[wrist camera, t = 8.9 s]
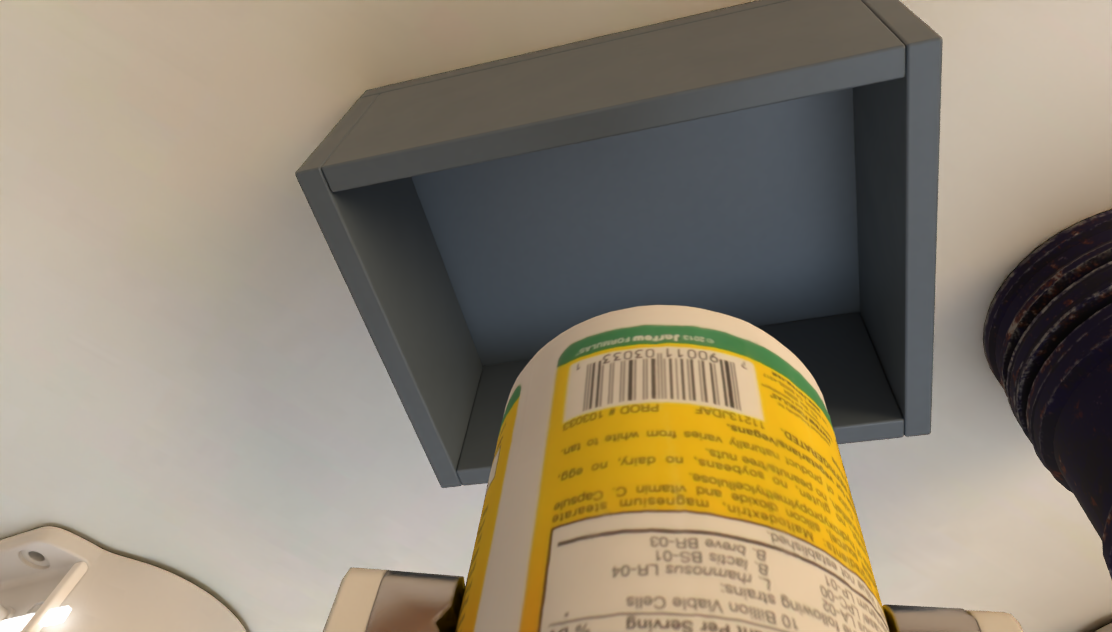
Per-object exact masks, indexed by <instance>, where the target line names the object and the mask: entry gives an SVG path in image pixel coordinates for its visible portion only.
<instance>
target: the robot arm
mask: <svg viewBox="0 0 1112 632" xmlns="http://www.w3.org/2000/svg"><path fill="white" fill-rule="evenodd" d="M464 592H465V583H464V577H463V576H450V575H438V574H426V573H413V572H401V571H390V570H381V569H366V568H350V569H349V571H348V572H347V574H346V575H345V576H344V578H343V579H342V582H341V584H340V587H339V590H338V592H337V595H336V598H335V600H334V603H333V606H332V608H331V611H330V614H329V617H328V619H327V622H326V625H325V627H324V630H323V632H455V631H456V626H457V621H458V617H459V612H460V608H461V604H462V600H463V596H464ZM882 607H883V611H884V614H885V618H886V621H887V625H888V628H889V632H1023V630H1022V628H1021V626H1020V624H1019V622H1018V621H1017V620H1016V619H1015V618H1014V617H1013V616H1012V615H1011V614H1008V613H1005V612H990V611H970V610H964V609H958V608H939V607H920V606H900V605H883V606H882ZM0 632H247V631H246V630H245V628H244V627H243V625H242V624H241V623H240V621H239V620H238V619H237V618H236V617H235V615H234V614H233V613H232V612H231V611H230V610H229V609H228V608H226V607H225V606H224V605H223V604H222V603H221V602H219V601H218V600H217V599H216V598H214V597H213V596H212V595H210V594H209V593H207V592H206V591H204V590H203V589H201V588H199V587H198V586H196V585H194V584H193V583H191V582H189V581H187V580H185V579H183V578H181V577H179V576H177V575H175V574H173V573H171V572H168V571H166V570H163V569H161V568H158V567H155V566H153V565H150V564H147V563H144V562H140V561H137V560H134V559H130V558H127V557H123V556H120V555H117V554H114V553H111V552H108V551H106V550H103V549H102V548H100V547H98V546H96V545H94V544H93V543H91V542H89V541H87V540H85V539H83V538H81V537H79V536H77V535H75V534H73V533H71V532H69V531H66V530H64V529H61V528H58V527H52V526H45V527H40V528H37V529H34V530H31V531H27V532H24V533H21V534H18V535H15V536H11V537H8V538H5V539H2V540H0Z"/></svg>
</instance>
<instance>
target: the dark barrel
mask: <svg viewBox="0 0 1112 632" xmlns="http://www.w3.org/2000/svg"><path fill="white" fill-rule="evenodd" d="M983 343H984V350H985V356H986V359H987V361H988V364H989V366H990V369H991V370H992V372H993V374H994V375H995V377H996V378H997V380H998V381H999V383H1000V384H1001V386H1002V387H1003V389H1004V390H1005V393H1006V396H1007V397H1008V401H1009V404H1010V406H1011V409H1012V412H1013V414H1014V416H1015V417H1016V419H1017V421H1018V423H1019V424H1020V426H1021V428H1022V429H1023V431H1024V433H1025V434H1026V436H1027V437H1028V439H1029V440H1030V441H1031V443H1032V444H1033V446H1034V449H1035V452H1036V454H1037V456H1038V457H1039V459H1040V460H1041V462H1042V463H1043V465H1044V466H1045V467H1046V468H1047V469H1048V470H1049V471H1050V472H1051V473H1052V475H1053V476H1054V478H1055V479H1056V480H1057V481H1058V482H1059V483H1061V484H1062V485H1063V486H1064V487H1065V488H1066V489H1067V490H1069V491H1071V492H1072V493H1074V495H1075V497H1076V498H1077V500H1078V502H1079V503H1080V505H1081V507H1082V508H1083V510H1084V512H1085V513H1086V515H1087V517H1088V518H1089V520H1090V521H1091V523H1092V525H1093V526H1094V528H1095V530H1096V531H1097V533H1098V535H1099V536H1100V538H1101V540H1102V544H1103V556H1104V559H1105V562H1106V565H1107V567H1108V570H1109V573H1110V576H1111V579H1112V210H1109V211H1106V212H1103V213H1101V214H1098V215H1096V216H1093V217H1091V218H1088V219H1085V220H1083V221H1081V222H1079V223H1077V224H1075V225H1073V226H1071V227H1070V228H1068V229H1066V230H1064V231H1062V232H1060V233H1059V234H1057V235H1056V236H1054V237H1053V238H1051V239H1050V240H1048V241H1047V242H1045V243H1044V244H1042V245H1041V246H1040V247H1038V248H1037V249H1036V250H1035V251H1034V252H1032V253H1031V254H1030V255H1029V256H1028V257H1027V258H1025V259H1024V260H1023V261H1022V262H1021V263H1020V264H1019V265H1018V267H1017V268H1016V269H1015V270H1014V271H1013V272H1012V273H1011V274H1010V275H1009V276H1008V278H1007V279H1006V281H1005V282H1004V283H1003V285H1002V286H1001V288H1000V289H999V291H998V292H997V294H996V296H995V298H994V300H993V302H992V304H991V306H990V308H989V311H988V314H987V318H986V321H985V325H984V336H983Z"/></svg>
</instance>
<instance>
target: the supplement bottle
mask: <svg viewBox="0 0 1112 632" xmlns="http://www.w3.org/2000/svg"><path fill="white" fill-rule="evenodd" d="M455 632H889V628H888V625H887V621H886V618H885V614H884V611H883V607H882V604H881V600H880V597H879V593H878V590H877V586H876V583H875V579H874V575H873V572H872V568H871V564H870V561H869V557H868V553H867V550H866V546H865V542H864V539H863V535H862V532H861V528H860V524H859V521H858V517H857V514H856V510H855V507H854V503H853V500H852V496H851V493H850V489H849V485H848V481H847V477H846V474H845V470H844V467H843V463H842V459H841V456H840V452H839V448H838V444H837V441H836V437H835V433H834V430H833V426H832V423H831V418H830V415H829V414H828V411H827V408H826V404H825V401H824V398H823V395H822V393H821V391H820V389H819V387H818V385H817V383H816V381H815V379H814V378H813V376H812V375H811V373H810V372H809V371H808V369H807V368H806V367H805V366H804V364H803V363H802V362H801V361H800V360H799V359H798V358H797V357H796V356H795V355H794V354H793V353H792V352H791V351H790V350H789V349H787V348H786V347H785V346H784V345H782V344H781V343H780V342H778V341H777V340H776V339H775V338H773V337H772V336H770V335H769V334H767V333H766V332H764V331H763V330H761V329H759V328H757V327H756V326H754V325H752V324H750V323H748V322H746V321H743V320H741V319H738V318H735V317H732V316H729V315H725V314H722V313H718V312H714V311H710V310H706V309H701V308H695V307H689V306H677V305H649V306H637V307H632V308H627V309H622V310H617V311H612V312H608V313H605V314H602V315H599V316H596V317H594V318H591V319H589V320H586V321H584V322H582V323H579V324H577V325H575V326H573V327H571V328H570V329H568V330H566V331H565V332H563V333H561V334H560V335H558V336H557V337H555V338H554V339H553V340H551V341H550V342H549V343H547V344H546V345H545V346H544V347H543V348H541V349H540V350H539V351H538V352H537V353H536V355H535V356H534V357H533V358H532V359H531V360H530V362H529V363H528V364H527V365H526V366H525V368H524V369H523V370H522V372H521V373H520V374H519V376H518V378H517V379H516V381H515V383H514V385H513V388H512V390H511V392H510V395H509V398H508V401H507V404H506V407H505V412H504V416H503V420H502V423H501V427H500V431H499V436H498V441H497V446H496V450H495V455H494V459H493V464H492V467H491V471H490V476H489V481H488V485H487V490H486V495H485V500H484V505H483V510H482V514H481V519H480V523H479V528H478V532H477V537H476V542H475V546H474V551H473V555H472V560H471V565H470V569H469V573H468V578H467V582H466V587H465V592H464V596H463V600H462V604H461V608H460V612H459V617H458V621H457V626H456V631H455Z"/></svg>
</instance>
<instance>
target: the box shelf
mask: <svg viewBox="0 0 1112 632" xmlns="http://www.w3.org/2000/svg"><path fill="white" fill-rule="evenodd" d="M941 73H942V37H941V36H939V35H938V34H937V33H936V32H935V31H934V30H933V29H931V28H930V27H929V26H928V25H927V24H926V23H924V22H923V21H922V20H921V19H920V18H919V17H918V16H916V15H915V14H914V13H913V12H912V11H911V10H909V9H908V8H907V7H906V6H905V5H904V4H903V3H901V2H900V1H899V0H759V1H754V2H750V3H746V4H741V5H737V6H733V7H728V8H724V9H719V10H715V11H711V12H706V13H702V14H698V15H693V16H689V17H685V18H680V19H676V20H671V21H667V22H663V23H658V24H654V25H650V26H645V27H641V28H637V29H632V30H628V31H623V32H619V33H615V34H610V35H606V36H602V37H597V38H593V39H589V40H584V41H580V42H576V43H571V44H567V45H562V46H558V47H554V48H549V49H545V50H541V51H536V52H532V53H528V54H523V55H519V56H514V57H510V58H506V59H501V60H497V61H493V62H488V63H484V64H480V65H475V66H471V67H466V68H462V69H458V70H453V71H449V72H445V73H440V74H436V75H432V76H427V77H423V78H418V79H414V80H410V81H405V82H401V83H397V84H392V85H388V86H384V87H379V88H375V89H370V90H366V91H365V92H364V94H363V95H362V96H361V97H360V98H359V99H358V100H357V101H356V103H355V104H354V105H353V106H352V107H351V108H350V110H349V111H348V112H347V113H346V114H345V115H344V117H343V118H342V119H341V120H340V121H339V122H338V124H337V125H336V126H335V127H334V128H333V129H332V131H331V132H330V133H329V134H328V135H327V136H326V138H325V139H324V140H323V141H322V142H321V143H320V145H319V146H318V147H317V148H316V149H315V150H314V152H313V153H312V154H311V155H310V156H309V157H308V159H307V160H306V161H305V162H304V163H303V164H302V166H301V167H300V168H299V169H298V170H297V171H296V173H295V174H296V177H297V179H298V182H299V184H300V186H301V188H302V190H303V192H304V194H305V196H306V199H307V201H308V203H309V205H310V207H311V209H312V211H313V214H314V216H315V218H316V220H317V222H318V224H319V226H320V229H321V231H322V233H323V235H324V237H325V239H326V241H327V244H328V246H329V248H330V250H331V252H332V254H333V256H334V259H335V261H336V263H337V265H338V267H339V269H340V271H341V274H342V276H343V278H344V280H345V282H346V284H347V286H348V288H349V291H350V293H351V295H352V297H353V299H354V301H355V303H356V306H357V308H358V310H359V312H360V314H361V316H362V318H363V321H364V323H365V325H366V327H367V329H368V331H369V333H370V336H371V338H372V340H373V342H374V344H375V346H376V348H377V351H378V353H379V355H380V357H381V359H382V361H383V363H384V366H385V368H386V370H387V372H388V374H389V376H390V378H391V380H392V383H393V385H394V387H395V389H396V391H397V393H398V395H399V398H400V400H401V402H402V404H403V406H404V408H405V410H406V413H407V415H408V417H409V419H410V421H411V423H412V425H413V428H414V430H415V432H416V434H417V436H418V438H419V440H420V443H421V445H422V447H423V449H424V451H425V453H426V455H427V458H428V460H429V462H430V464H431V466H432V468H433V470H434V472H435V475H436V477H437V479H438V481H439V483H440V485H441V487H442V488H447V487H456V486H461V485H473V484H482V483H488V481H489V476H490V471H491V467H492V464H493V459H494V455H495V450H496V446H497V441H498V436H499V431H500V427H501V423H502V420H503V416H504V412H505V407H506V404H507V401H508V398H509V395H510V392H511V390H512V388H513V385H514V383H515V381H516V379H517V378H518V376H519V374H520V373H521V372H522V370H523V369H524V368H525V366H526V365H527V364H528V363H529V362H530V360H531V359H532V358H533V357H534V356H535V355H536V353H537V352H538V351H539V350H540V349H541V348H543V347H544V346H545V345H546V344H547V343H549V342H550V341H551V340H553V339H554V338H555V337H557V336H558V335H560V334H561V333H563V332H565V331H566V330H568V329H570V328H571V327H573V326H575V325H577V324H579V323H582V322H584V321H586V320H589V319H591V318H594V317H596V316H599V315H602V314H605V313H608V312H612V311H617V310H622V309H627V308H632V307H637V306H649V305H677V306H689V307H695V308H701V309H706V310H710V311H714V312H718V313H722V314H725V315H729V316H732V317H735V318H738V319H741V320H743V321H746V322H748V323H750V324H752V325H754V326H756V327H757V328H759V329H761V330H763V331H764V332H766V333H767V334H769V335H770V336H772V337H773V338H775V339H776V340H777V341H778V342H780V343H781V344H782V345H784V346H785V347H786V348H787V349H789V350H790V351H791V352H792V353H793V354H794V355H795V356H796V357H797V358H798V359H799V360H800V361H801V362H802V363H803V364H804V366H805V367H806V368H807V369H808V371H809V372H810V373H811V375H812V376H813V378H814V379H815V381H816V383H817V385H818V387H819V389H820V391H821V393H822V395H823V398H824V401H825V404H826V408H827V411H828V414H829V415H830V418H831V423H832V426H833V430H834V433H835V437H836V441H837V444H845V443H854V442H863V441H872V440H881V439H890V438H899V437H903V436H904V435H905V436H907V437H909V436H918V435H927V434H930V433H931V407H932V373H933V340H934V306H935V273H936V240H937V206H938V173H939V139H940V106H941Z"/></svg>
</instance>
